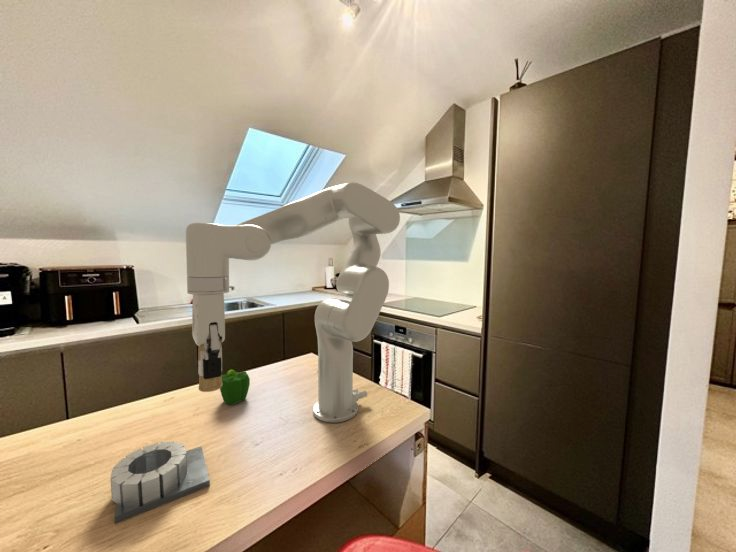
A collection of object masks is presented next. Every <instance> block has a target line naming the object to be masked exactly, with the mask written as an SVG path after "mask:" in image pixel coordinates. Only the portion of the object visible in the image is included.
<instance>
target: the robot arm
mask: <svg viewBox="0 0 736 552" xmlns="http://www.w3.org/2000/svg"><path fill="white" fill-rule="evenodd" d="M343 219H348V225H349V229H350V231H351V235H352V240H353V241H352V242H353V245H352V249H351V251H350V253H349V256H348V257H347V259H346V261H345V263H344V265H343V267H342V269H341V271H340V273H339V275H338V277H337V279H336V284H335V286H336V290H337V292H338V293H339V294H340V295H341V296H343V297H345V298H348V299H351V301H348V300H344V299H341V298H327V299H324V300H322V301H321V302H320V303H319V304H318V305H317V307H316V309H315V313H314V326H315V330H316V336H317V337H316V338H317V352H318V353H317V363H318V365H317V366H318V369H317V371H318V372H317V373H318V374H317V378H318V380H317V383H318V384H317V386H318V390H317V391H318V401H316V402H315V403H314V404H313V406H312V415H313V416H314V417H315V418H317V419H318V420H320V421H322V422H325V423H332V424H333V423H342V422H346V421H348V420H349V421H350V419H353V418H354V417H355V416H356V415H357V414H358V412H359V404H358V401H359V400H361V399H364V398H366V397H368V391H366V390H365V389H363V390H360V391H359V389H358V388H356V389H354V388H353V387H354V386H353V385H354V384H353V379H354V377H353V376H354V375H353V374H354V372H353V371H354V370H353V369H354V368H353V367H354V366H353V364H354V362H353V361H354V360H353V359H354V348H353V342H357V343H358V342H360V341H362V340H364V339H366V338H367V337H368V336H369V334H370V333H371V332H372V329H373V328H374V326H375V323H376V322H377V319H378V317H379V316H380V315H379V314H380V312H381V311H382V308H383V306H384V304H385V302H386V299H387V297H388V293H389V289H390V281H389V280H390V279H389V277H388V275H387V273H386V272H385V270H384V269H382V268H380V267H378V264H379V261H380V259H381V246H380V243H379V240H378V237H377V235H383V234H384V235H386V234H390V233H392V232H394V231H396V229H398V226H399V224H400V223H401V222H400V220H401V216H400V211H399V209H398V207H397V206H396V205H395V203H393V202H392V201H390V200H389V199H387V198H386V197H384V196H383V195H381V194H379V193H377V192H376V191H374V190H372V189H371V188H369V187H368V186H365V185H363V184H360V183H358V182H353V181H351V182H345V183H341V184H338V185H334V186H330V187H327V188H325V189H323V190H320V191H317V192H314V193H312V194H310V195H308V196H305V197H303V198H300V199H298V200H295V201H292V202H290V203H287V204H284V205H283V206H281V207H277V208H275V209H273V210H271V211H268V212H266V213H263V214H260V215H258V216H256V217H253V218H251V219H248V220H245V221H242V222H241V223H238V224H235V225H224V224H219V223H213V222H192V223H189V224H188V225H187V227H186V229H185V249H186V251H185V253H186V255H185V256H186V289H187V295H188V294H189V295H192V305H191V306H192V307H191V310H192V312H191V313H192V314H191V315H192V316H191V317H192V318H191V319H192V322H191V323H192V324H191V325H192V327H191V328H192V329H191V330H192V331H191V335H192V338H193V341H194V343H195V344H196V346H197V347H198V346H201V344H204V356H205V359H203V378H204V379H210V378H215V377H220V376H221V375H223V369H222V370H221V350H220V342H221V344H222V343H223V342H224V341H225V338H226V316H225V314H226V313H225V312H226V311H225V294H228V293H229V292H230V259H233V260H234V259H235V260H242V261H257V260H260V259H262V258H264V257H265V256H266V255H267V254H268V253H269V252H270V250H271V246H272V245H273V244H277V243H280V242H283V241H287V240H288V241H289V240H293V239H299V238H303V237H306V236H309V235H312V234H313V233H315V232H317V231H319V230H321V229H323V228H325V227H327V226H329V225H331V224H334V223H335V222H338V221H340V220H343ZM207 340H210V341H211V343H207ZM208 346H211V348H209V349H208Z"/></svg>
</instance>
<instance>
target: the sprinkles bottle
mask: <svg viewBox="0 0 736 552" xmlns="http://www.w3.org/2000/svg"><path fill="white" fill-rule="evenodd" d="M207 343H211V341H210V340H207ZM197 347H198V348H197V351H198V352H197V353H198V355H197V356H198V357H197V358H198V360H197V362H198V363H197V365H198V367H197V370H198V371H197V373H198V390H199V391H200V392H202V393H209V392H210V393H211V392H214V391H218V390H220V388H221V387H222V385H223V383H222V375H223V374H222V375H221V376H220V377H215V378H210V379H204V378H203V359H205V356H204V344H201V346H198V345H197ZM209 348H211V346H208V349H209ZM220 350H221V370H222V371H223V348H222V343H221V342H220Z"/></svg>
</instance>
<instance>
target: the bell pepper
mask: <svg viewBox="0 0 736 552" xmlns="http://www.w3.org/2000/svg"><path fill="white" fill-rule="evenodd" d="M250 380H251V379H250V376H249V375H248V373H247V371H240V372H238V371H235V370H234V369H229V370H228V371H227V372H226V374H222V383H223V385H222V387H221V388H220V389H219V391H220V394H221V397H222V401H223V402H224V404H226V405H229V406H230V405H231V406H232V405H233V406H234V405H236V404H239V403H240V402H242V401H245V400H246V398H247V395H248V392H249V390H250V389H249V388H250V384H251V383H250V382H251V381H250Z"/></svg>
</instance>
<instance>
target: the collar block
mask: <svg viewBox="0 0 736 552" xmlns="http://www.w3.org/2000/svg"><path fill="white" fill-rule="evenodd" d="M142 448H143V449H142ZM142 448H138V449H136V450H134V451H133V452H131V453H129V454H127V455H125V457H123V458H121V459H120V460H119V461H118V462H117V463H116V464H115V465H114V466H113V468H112V469H111V473H110V488H111V489H110V492H111V499H112V502H113V503H114V504H115V509H114V510H115V511H114V517H113V518H114V524H118V523H120V522H123V521H126V520H128V519H130V518H133V517H135V515H136V516H138V515H141V514H142V513H145V512H147V511H150V510H154V509H155V508H158V507H161V506H163V505H165V504H168V503H170V502H174V501H175V500H178V499H180V498H183V497H186V496H188V495H191V494H193V493H195V492H198V491H200V490H203V489H206V488H208V487H210V486H211V480H210V476H209V471H208V467H207V464H206V459H205V455H204V452H203V447H202V446H198V447H195V448H192V449H188V450H187V449H186V445H184V444H182V443H180V442H178V441H160V442H155V443H153V444H149V445H145V446H143V447H142ZM140 513H141V514H140Z"/></svg>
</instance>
